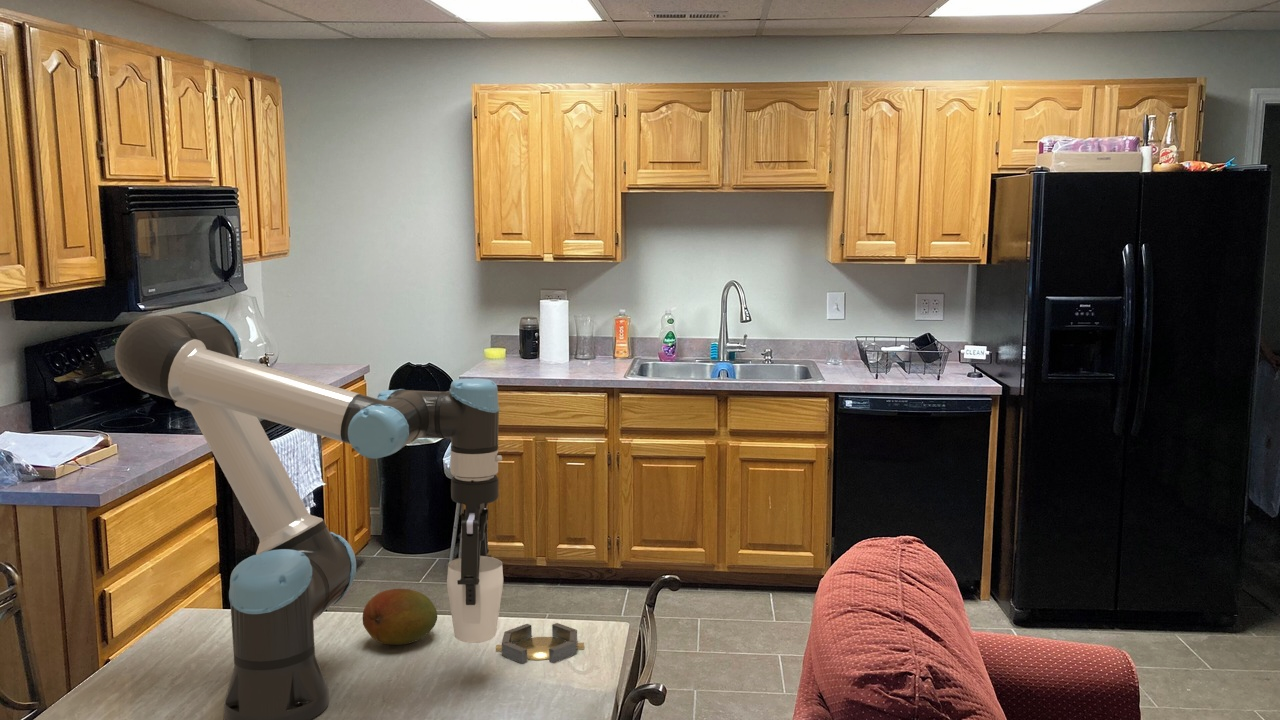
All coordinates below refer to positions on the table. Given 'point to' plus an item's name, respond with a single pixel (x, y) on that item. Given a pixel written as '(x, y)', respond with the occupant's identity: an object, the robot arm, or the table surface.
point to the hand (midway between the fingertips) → (475, 611)
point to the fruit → (399, 616)
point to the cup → (488, 600)
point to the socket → (539, 644)
